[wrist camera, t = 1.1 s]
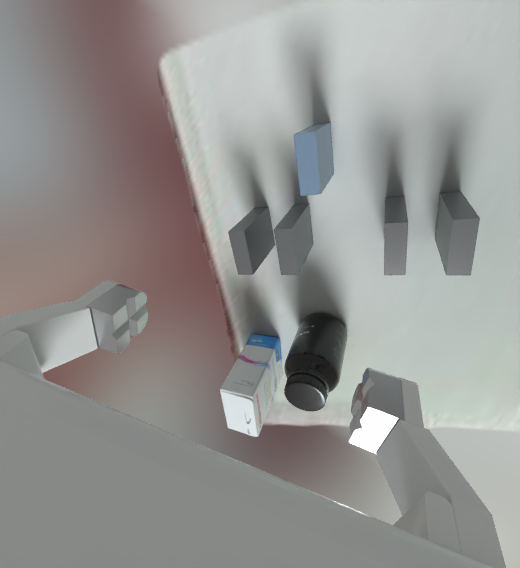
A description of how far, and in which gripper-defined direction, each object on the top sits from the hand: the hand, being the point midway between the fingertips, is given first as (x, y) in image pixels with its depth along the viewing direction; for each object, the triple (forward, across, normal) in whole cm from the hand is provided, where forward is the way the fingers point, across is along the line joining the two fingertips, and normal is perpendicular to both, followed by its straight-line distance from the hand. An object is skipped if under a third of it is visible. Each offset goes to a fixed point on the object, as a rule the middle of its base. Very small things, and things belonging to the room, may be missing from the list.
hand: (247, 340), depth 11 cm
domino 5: (+28, -12, +2) cm, 30 cm away
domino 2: (+28, +2, +7) cm, 29 cm away
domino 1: (+28, +7, +8) cm, 30 cm away
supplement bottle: (+28, -4, +21) cm, 36 cm away
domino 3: (+28, +2, -2) cm, 28 cm away
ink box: (+28, +3, +30) cm, 41 cm away
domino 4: (+28, -8, +3) cm, 29 cm away
